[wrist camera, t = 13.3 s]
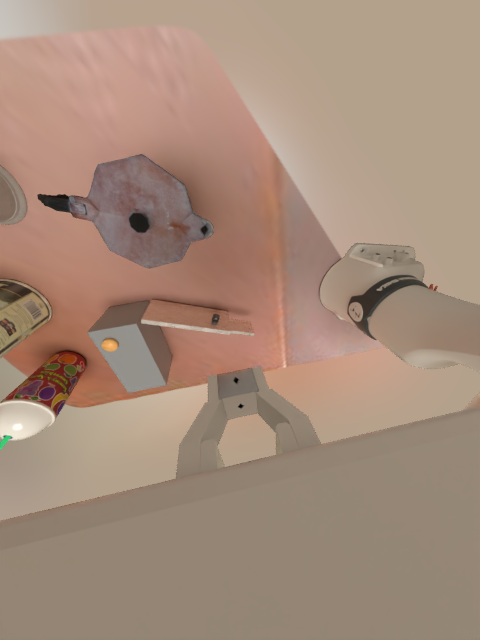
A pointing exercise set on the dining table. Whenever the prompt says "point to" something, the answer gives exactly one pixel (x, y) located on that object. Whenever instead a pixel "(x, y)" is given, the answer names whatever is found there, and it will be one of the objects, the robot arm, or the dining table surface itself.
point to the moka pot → (137, 211)
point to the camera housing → (132, 347)
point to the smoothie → (40, 397)
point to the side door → (194, 318)
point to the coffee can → (20, 313)
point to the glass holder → (11, 199)
